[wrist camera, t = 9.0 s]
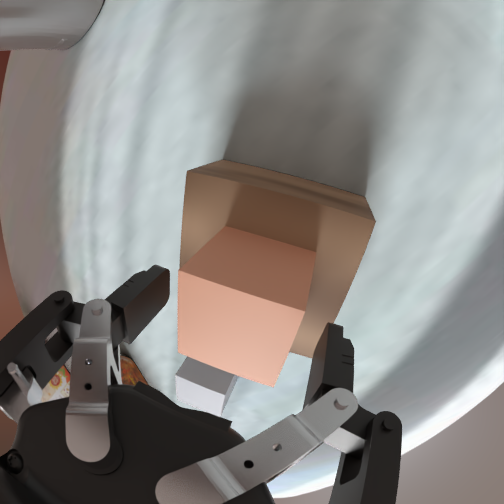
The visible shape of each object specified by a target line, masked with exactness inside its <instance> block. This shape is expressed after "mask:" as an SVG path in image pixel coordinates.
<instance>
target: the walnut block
mask: <svg viewBox="0 0 504 504" xmlns="http://www.w3.org/2000/svg"><path fill="white" fill-rule="evenodd" d="M375 222H376V221H375V218H374V216H373V214H372V211H371V209H370V207H369V205H368V202H367V200H366V198H365V197H363V196H360V195H357V194H354V193H350V192H347V191H344V190H341V189H338V188H334V187H331V186H328V185H324V184H321V183H317V182H314V181H310V180H306V179H303V178H299V177H295V176H291V175H288V174H284V173H280V172H276V171H272V170H268V169H263V168H259V167H255V166H250V165H246V164H241V163H237V162H232V161H227V160H219V161H216V162H213V163H210V164H206V165H203V166H200V167H197V168H194V169H191V170H188V171H187V175H186V184H185V195H184V206H183V218H182V232H181V249H180V268H181V267H182V266H183V265H184V264H185V263H186V262H187V261H189V260H190V259H191V258H192V257H193V256H194V255H195V254H196V253H197V252H198V251H199V250H200V249H201V248H202V247H203V246H204V245H205V244H206V243H207V242H209V241H210V240H211V239H212V238H213V237H214V236H215V235H216V234H217V233H218V232H219V231H220V230H221V229H222V228H224V227H225V226H228V227H231V228H235V229H238V230H242V231H245V232H249V233H252V234H256V235H259V236H263V237H266V238H270V239H273V240H276V241H280V242H283V243H287V244H290V245H294V246H297V247H300V248H304V249H307V250H310V251H314V252H316V258H315V264H314V269H313V275H312V280H311V285H310V291H309V296H308V301H307V306H306V310H305V314H304V316H303V319H302V321H301V324H300V326H299V329H298V331H297V334H296V336H295V339H294V341H293V344H292V346H291V348H290V351H289V352H292V353H295V354H299V355H302V356H306V357H309V358H313V354H314V350H315V348H316V345H317V343H318V341H319V339H320V337H321V335H322V333H323V330H324V328H325V326H326V324H327V323H328V322H329V323H334V321H335V319H336V317H337V315H338V313H339V311H340V308H341V306H342V304H343V302H344V300H345V297H346V295H347V293H348V291H349V288H350V286H351V284H352V281H353V279H354V277H355V274H356V272H357V270H358V267H359V265H360V262H361V260H362V257H363V255H364V252H365V249H366V247H367V244H368V242H369V239H370V236H371V234H372V231H373V228H374V225H375Z"/></svg>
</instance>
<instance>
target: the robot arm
mask: <svg viewBox="0 0 504 504" xmlns="http://www.w3.org/2000/svg"><path fill="white" fill-rule="evenodd" d="M103 1H104V0H0V51H1V50H17V49H46V50H53V49H54V50H64V49H67V48H69V47H71V46H73V45H74V44H75V43H77V42H78V41H79V40H80V39H81V38H82V37H83V36H84V34H85V33H86V32H87V31H88V29H89V28H90V26H91V25H92V23H93V22H94V20H95V19H96V17H97V15H98V13H99V11H100V9H101V7H102V4H103ZM169 295H170V271H169V270H168V269H166V268H163V267H161V266H158V265H154V266H152V267H151V268H150V269H149V270H147V271H141V272H139V273H136V274H134V275H133V276H132V277H131V278H130V279H128V281H126V282H125V283H124V284H123V285H121V286H120V287H119V288H118V289H116V290H115V291H114V292H113V293H112V294H111V295H109V296H108V297H107V298H106V299H105V300H103V299H94V300H91V301H89V302H87V303H86V304H82V303H78V302H73V299H72V295H71V294H70V293H69V292H67V291H57V292H54V293H52V294H51V295H50V296H49V297H48V298H46V299H45V300H44V301H43V302H42V303H41V304H39V305H38V306H37V307H36V308H35V309H34V310H33V311H31V312H30V313H29V314H28V315H27V316H26V317H25V318H24V319H23V320H22V321H20V323H18V324H17V325H16V326H15V327H14V328H13V329H12V330H11V331H10V332H9V333H8V334H7V335H6V336H5V337H4V338H3V339H2V340H1V341H0V409H1V410H2V411H3V412H4V413H5V414H6V415H7V416H8V417H9V418H11V419H13V420H14V421H15V422H16V423H17V424H18V426H17V432H16V436H15V440H14V442H13V445H12V447H11V449H10V450H9V451H8V452H7V453H6V454H4V455H2V456H1V457H0V504H275V502H274V500H273V498H272V495H271V493H270V491H269V489H268V487H267V485H266V484H267V483H269V482H270V481H272V480H274V479H275V478H277V477H278V476H280V475H281V474H283V473H284V472H286V471H287V470H288V469H290V468H291V467H293V466H294V465H295V464H297V463H298V462H299V461H301V460H302V459H303V458H305V457H306V456H308V455H309V454H310V453H311V452H313V451H314V450H315V449H317V448H318V447H319V446H320V445H322V444H323V443H326V444H328V445H330V446H332V447H334V448H336V449H338V450H340V451H342V452H341V457H340V462H339V466H338V470H337V474H336V479H335V483H334V486H333V490H332V494H331V498H330V501H329V504H395V502H396V496H397V488H398V480H399V470H400V459H401V443H402V424H401V421H400V419H399V418H398V417H397V416H396V415H395V414H394V413H392V412H389V411H383V412H380V413H378V414H377V415H375V414H373V413H371V412H369V411H367V410H365V409H363V408H362V407H361V406H360V405H359V404H358V401H357V398H356V396H355V395H354V394H353V380H354V366H353V365H354V347H353V345H352V343H351V341H350V339H346V338H343V326H340V325H336V324H333V323H329V322H328V323H327V324H326V326H325V328H324V330H323V333H322V335H321V337H320V339H319V341H318V343H317V345H316V348H315V350H314V354H313V359H312V364H311V370H310V375H309V381H308V386H307V391H306V396H305V401H304V405H303V410H302V411H301V412H300V413H298V414H297V415H294V414H292V415H290V416H288V417H286V418H284V419H283V420H281V421H280V422H278V423H276V424H275V425H273V426H271V427H270V428H268V429H266V430H265V431H263V432H261V433H260V434H258V435H256V436H254V437H252V438H251V439H249V440H247V441H245V439H244V438H243V437H242V436H241V435H240V434H239V433H237V432H236V431H235V430H233V429H232V428H230V426H231V423H232V421H229V420H227V419H224V418H221V417H218V416H216V415H213V414H210V413H208V412H203V411H197V410H192V409H186V408H182V407H179V406H178V405H176V404H175V403H174V402H173V401H171V400H170V399H169V398H168V397H166V396H165V395H164V394H163V393H161V392H160V391H158V390H156V389H154V388H152V387H150V386H148V385H147V384H145V383H143V382H141V381H138V382H137V384H136V385H135V386H134V385H128V384H122V379H121V367H120V346H119V344H120V343H121V342H122V341H124V342H126V343H128V344H131V343H132V342H133V341H134V339H135V338H136V337H137V336H138V335H139V334H140V333H141V332H142V330H143V329H144V328H145V327H146V326H147V325H148V324H149V323H150V321H151V320H152V319H153V318H154V317H155V316H156V315H157V314H158V312H159V311H160V310H161V309H162V308H163V307H164V306H165V305H166V303H167V301H168V299H169ZM55 328H57V330H58V332H57V333H56V334H55V335H54V336H53V337H52V338H51V339H50V340H49V341H48V342H47V343H46V344H45V339H46V337H47V336H48V335H49V334H50V333H51V332H52V331H53V330H54V329H55ZM71 356H72V361H71V372H70V389H69V397H65V398H60V399H56V400H52V401H47V402H42V400H41V398H42V390H43V389H44V388H45V386H46V385H47V384H48V383H49V381H50V380H51V379H52V378H53V377H54V375H55V374H56V373H57V372H58V371H59V369H60V368H61V367H62V366H63V365H64V364H65V362H66V361H67V360H68V359H69V358H70V357H71Z"/></svg>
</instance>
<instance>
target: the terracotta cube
mask: <svg viewBox="0 0 504 504" xmlns="http://www.w3.org/2000/svg"><path fill="white" fill-rule="evenodd" d="M315 258H316V252H314V251H310V250H307V249H304V248H300V247H297V246H294V245H290V244H287V243H283V242H280V241H276V240H273V239H270V238H266V237H263V236H259V235H256V234H252V233H249V232H245V231H242V230H238V229H235V228H231V227H228V226H225V227H224V228H222V229H221V230H220V231H219V232H218V233H217V234H216V235H215V236H214V237H213V238H212V239H211V240H210V241H209V242H207V243H206V244H205V245H204V246H203V247H202V248H201V249H200V250H199V251H198V252H197V253H196V254H195V255H194V256H193V257H192V258H191V259H190V260H189V261H187V262H186V263H185V264H184V265H183V266H182V267H181V268H180V269H179V271H178V352H179V353H181V354H183V355H186V356H188V357H190V358H193V359H195V360H198V361H200V362H203V363H205V364H208V365H210V366H213V367H215V368H218V369H221V370H223V371H226V372H229V373H232V374H235V375H237V376H240V377H243V378H246V379H249V380H252V381H255V382H258V383H261V384H265V385H268V386H271V387H274V385H275V383H276V381H277V379H278V376H279V374H280V372H281V369H282V367H283V365H284V363H285V360H286V358H287V356H288V353H289V351H290V348H291V346H292V344H293V341H294V339H295V336H296V334H297V331H298V329H299V326H300V324H301V321H302V319H303V316H304V314H305V310H306V306H307V301H308V296H309V291H310V285H311V280H312V275H313V269H314V264H315Z"/></svg>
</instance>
